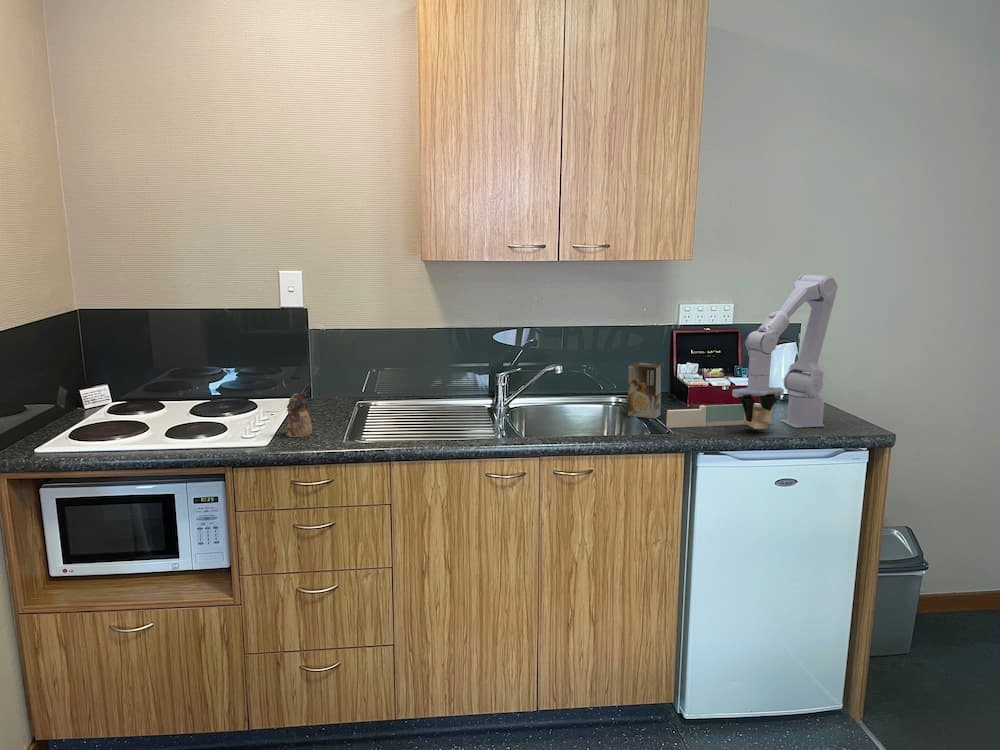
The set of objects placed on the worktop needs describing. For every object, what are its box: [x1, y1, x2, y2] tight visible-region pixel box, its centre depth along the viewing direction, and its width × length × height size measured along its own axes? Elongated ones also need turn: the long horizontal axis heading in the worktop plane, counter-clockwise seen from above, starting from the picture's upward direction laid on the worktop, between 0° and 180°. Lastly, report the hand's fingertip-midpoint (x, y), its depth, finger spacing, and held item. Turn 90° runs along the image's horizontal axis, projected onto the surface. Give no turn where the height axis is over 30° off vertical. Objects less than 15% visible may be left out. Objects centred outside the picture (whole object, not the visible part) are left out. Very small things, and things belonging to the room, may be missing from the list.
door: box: [705, 403, 755, 422], centre depth 230 cm, size 15×1×4 cm, turn 98°
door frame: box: [666, 402, 773, 429], centre depth 230 cm, size 32×2×6 cm, turn 98°
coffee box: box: [627, 362, 663, 419], centre depth 241 cm, size 9×6×16 cm
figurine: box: [286, 392, 313, 438], centre depth 221 cm, size 7×7×12 cm
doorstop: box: [744, 405, 770, 430], centre depth 222 cm, size 4×7×5 cm, turn 8°
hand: (756, 420), depth 222 cm, fingers closed on doorstop, 4 cm apart
